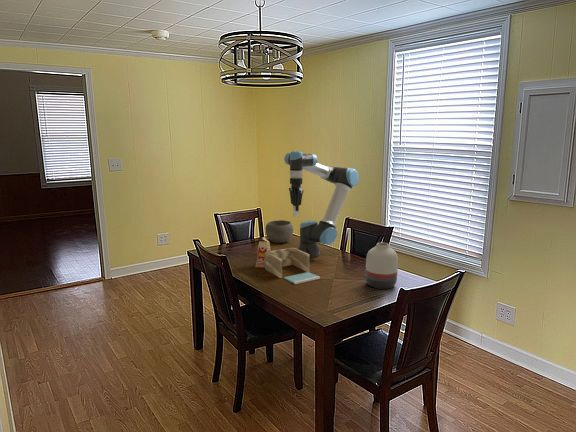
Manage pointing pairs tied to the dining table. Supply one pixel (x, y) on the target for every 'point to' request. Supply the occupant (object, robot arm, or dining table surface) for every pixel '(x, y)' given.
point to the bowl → (279, 231)
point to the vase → (381, 266)
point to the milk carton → (262, 252)
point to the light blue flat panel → (301, 278)
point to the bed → (286, 260)
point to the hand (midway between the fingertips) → (295, 216)
